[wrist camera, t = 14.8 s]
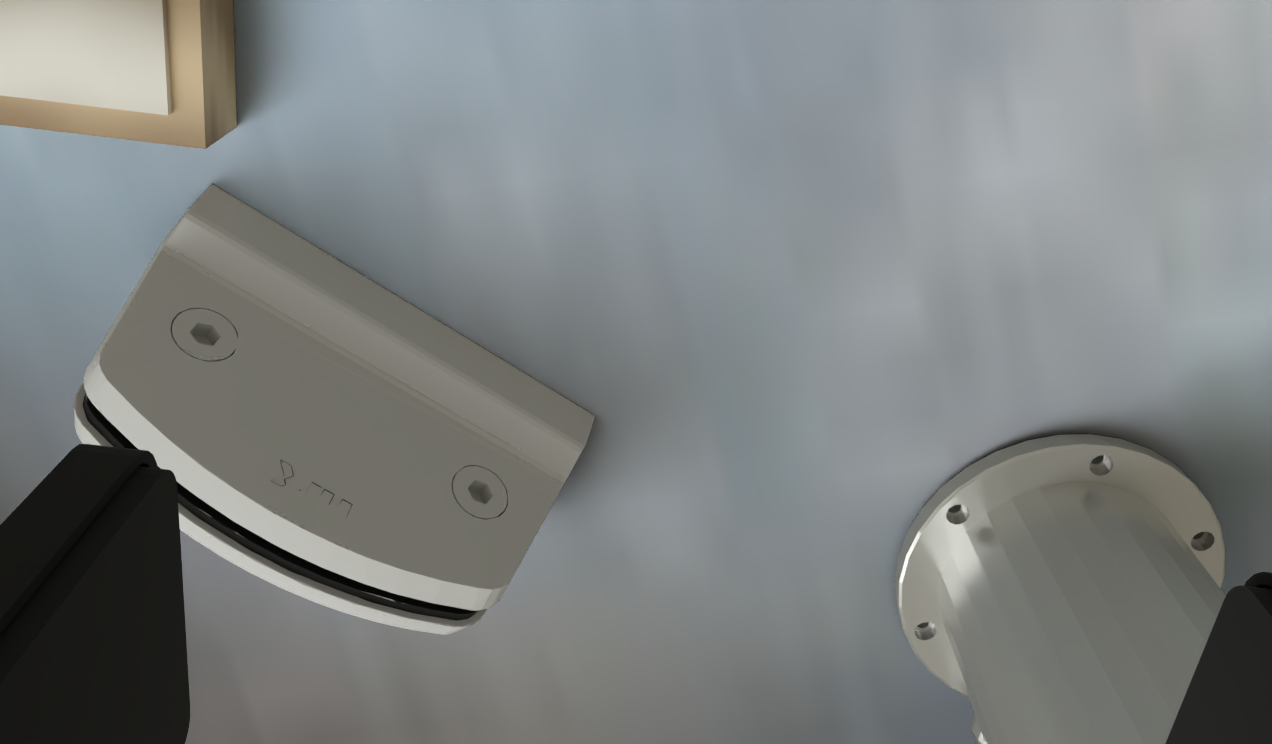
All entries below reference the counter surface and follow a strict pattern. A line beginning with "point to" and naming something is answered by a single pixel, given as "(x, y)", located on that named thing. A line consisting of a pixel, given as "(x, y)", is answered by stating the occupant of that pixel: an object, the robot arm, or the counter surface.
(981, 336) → the counter surface
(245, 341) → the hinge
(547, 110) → the counter surface
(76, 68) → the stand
